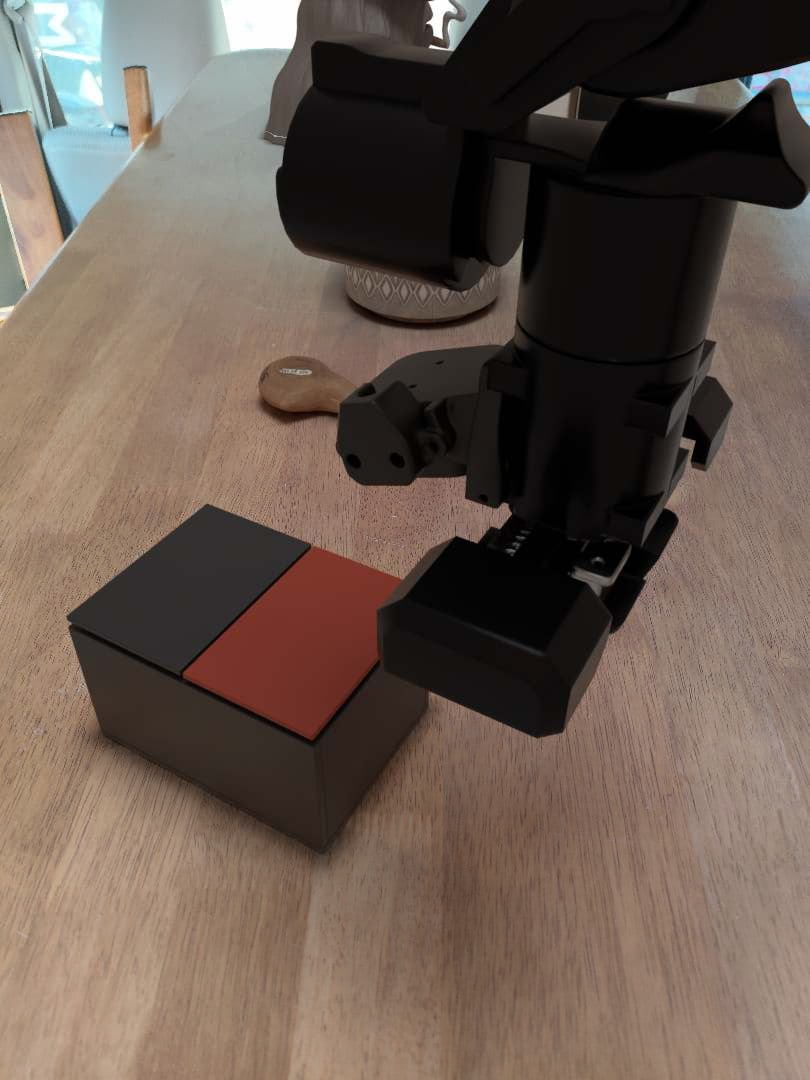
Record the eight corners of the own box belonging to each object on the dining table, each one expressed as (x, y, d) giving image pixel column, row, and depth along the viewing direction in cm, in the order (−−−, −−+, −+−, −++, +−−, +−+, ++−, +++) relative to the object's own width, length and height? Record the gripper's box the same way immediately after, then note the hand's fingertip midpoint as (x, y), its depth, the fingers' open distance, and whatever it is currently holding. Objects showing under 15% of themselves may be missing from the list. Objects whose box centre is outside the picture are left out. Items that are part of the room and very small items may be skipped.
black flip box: (428, 707, 52) (433, 590, 47) (323, 855, 45) (313, 737, 39) (225, 616, 58) (206, 502, 52) (101, 734, 51) (63, 616, 45)
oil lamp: (291, 449, 75) (375, 424, 78) (291, 411, 72) (378, 386, 75) (247, 390, 80) (327, 369, 83) (245, 352, 77) (328, 332, 80)
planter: (382, 257, 105) (381, 141, 97) (518, 280, 100) (529, 161, 92) (318, 313, 93) (311, 187, 85) (468, 343, 88) (476, 212, 80)
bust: (507, 136, 143) (528, -138, 121) (318, 170, 129) (303, -134, 107) (396, 91, 166) (397, -148, 143) (224, 115, 151) (196, -146, 129)
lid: (431, 595, 47) (431, 590, 47) (312, 741, 39) (312, 736, 39) (314, 550, 50) (313, 545, 49) (183, 678, 42) (182, 673, 42)
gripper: (500, 188, 37) (477, 496, 47) (204, 384, 24) (259, 749, 34) (780, 241, 33) (689, 567, 42) (597, 512, 20) (529, 886, 30)
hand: (552, 670), depth 37 cm, fingers closed
